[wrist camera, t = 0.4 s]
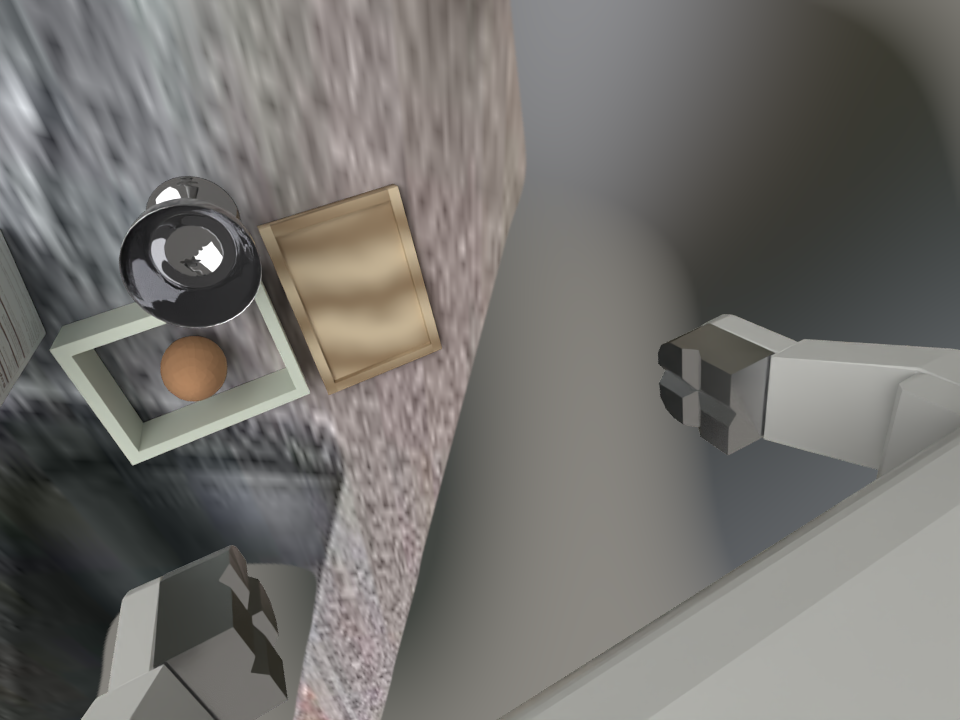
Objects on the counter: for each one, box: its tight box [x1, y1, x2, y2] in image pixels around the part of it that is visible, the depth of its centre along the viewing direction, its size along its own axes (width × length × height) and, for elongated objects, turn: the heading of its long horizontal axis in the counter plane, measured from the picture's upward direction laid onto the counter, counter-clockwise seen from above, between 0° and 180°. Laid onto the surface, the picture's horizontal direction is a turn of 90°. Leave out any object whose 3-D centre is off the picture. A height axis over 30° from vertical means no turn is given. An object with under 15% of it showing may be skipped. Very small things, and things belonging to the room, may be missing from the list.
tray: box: [257, 184, 442, 395], centre depth 54 cm, size 18×13×2 cm
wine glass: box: [119, 176, 262, 328], centre depth 40 cm, size 8×8×15 cm
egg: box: [161, 336, 227, 401], centre depth 48 cm, size 5×5×8 cm
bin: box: [50, 279, 310, 465], centre depth 49 cm, size 12×16×5 cm
